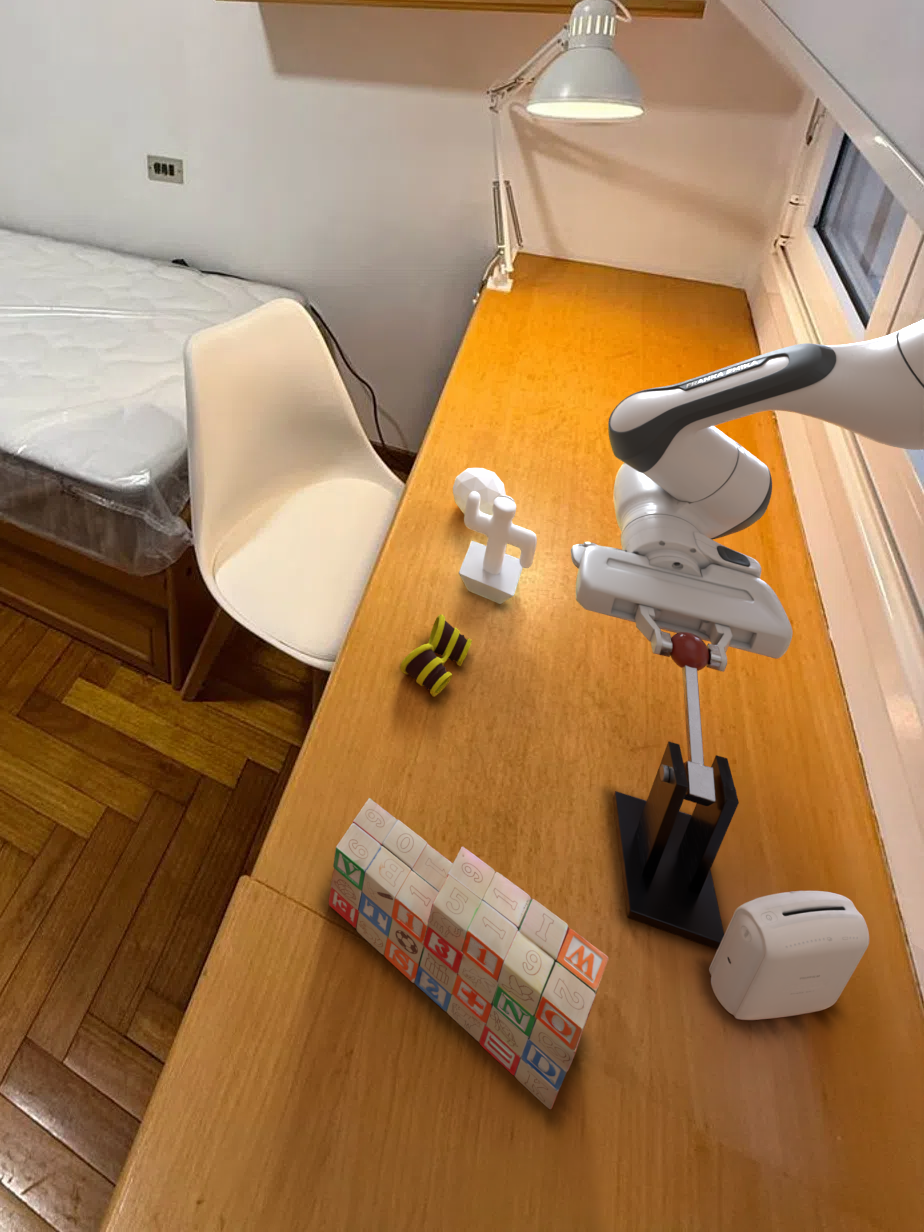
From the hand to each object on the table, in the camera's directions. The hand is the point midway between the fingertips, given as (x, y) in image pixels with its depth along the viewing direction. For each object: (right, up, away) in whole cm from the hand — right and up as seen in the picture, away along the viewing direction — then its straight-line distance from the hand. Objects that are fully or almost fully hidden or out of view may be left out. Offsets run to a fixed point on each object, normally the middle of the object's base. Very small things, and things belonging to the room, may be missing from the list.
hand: (690, 658), depth 85 cm
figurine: (-9, -6, +31) cm, 33 cm away
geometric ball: (-6, 0, +45) cm, 45 cm away
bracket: (-4, -20, -2) cm, 21 cm away
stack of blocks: (-28, -23, -9) cm, 38 cm away
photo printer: (0, -24, -11) cm, 27 cm away
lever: (-1, -5, -1) cm, 5 cm away
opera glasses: (-20, -11, +19) cm, 30 cm away
